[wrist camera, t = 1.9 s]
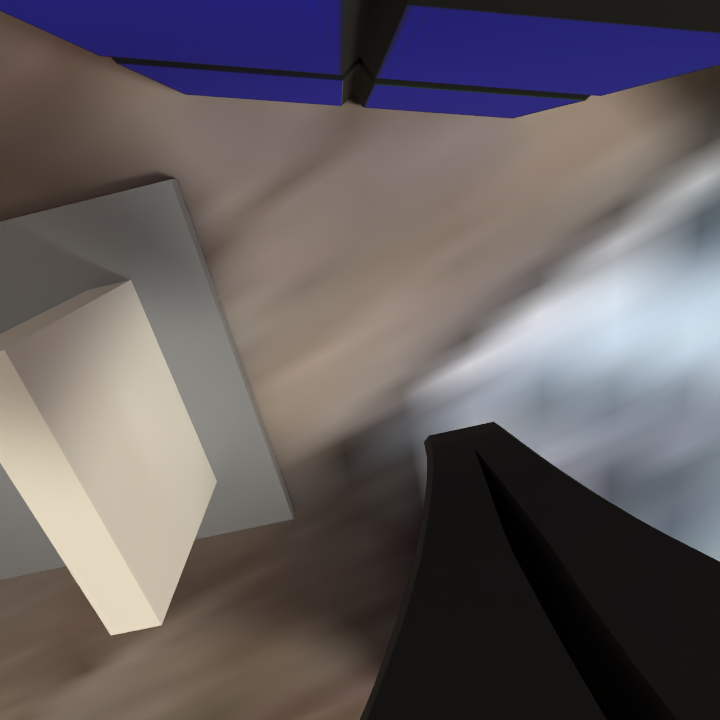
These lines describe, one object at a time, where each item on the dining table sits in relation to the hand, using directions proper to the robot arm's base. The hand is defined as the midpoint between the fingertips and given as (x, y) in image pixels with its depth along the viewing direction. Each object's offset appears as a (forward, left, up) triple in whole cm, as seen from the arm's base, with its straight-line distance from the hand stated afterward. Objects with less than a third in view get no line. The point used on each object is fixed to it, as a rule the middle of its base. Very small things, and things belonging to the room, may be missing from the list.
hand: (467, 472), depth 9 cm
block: (0, +9, -8) cm, 12 cm away
